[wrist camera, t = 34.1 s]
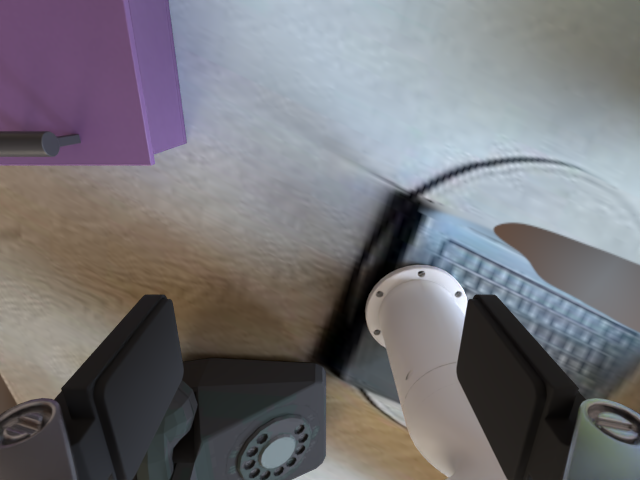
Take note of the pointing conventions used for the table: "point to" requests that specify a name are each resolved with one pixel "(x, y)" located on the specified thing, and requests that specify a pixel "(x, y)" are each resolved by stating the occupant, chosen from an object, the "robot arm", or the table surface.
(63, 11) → the lid
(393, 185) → the table surface
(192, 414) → the rotary telephone
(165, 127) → the box
